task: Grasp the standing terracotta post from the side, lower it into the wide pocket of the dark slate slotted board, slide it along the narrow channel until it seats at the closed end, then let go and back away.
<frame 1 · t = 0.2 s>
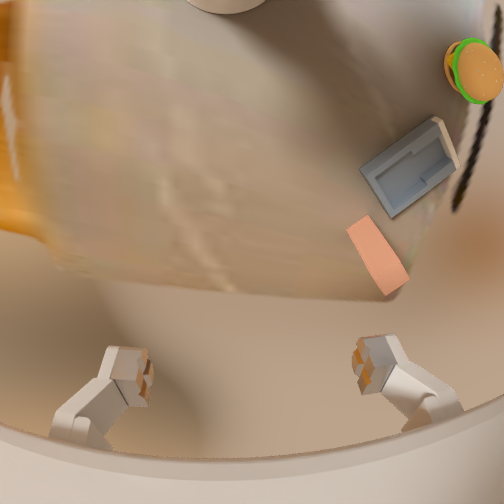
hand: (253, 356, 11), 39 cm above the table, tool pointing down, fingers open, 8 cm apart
hamburger: (461, 67, 37), on the table
slot board: (409, 163, 48), on the table
post: (362, 230, 56), on the table
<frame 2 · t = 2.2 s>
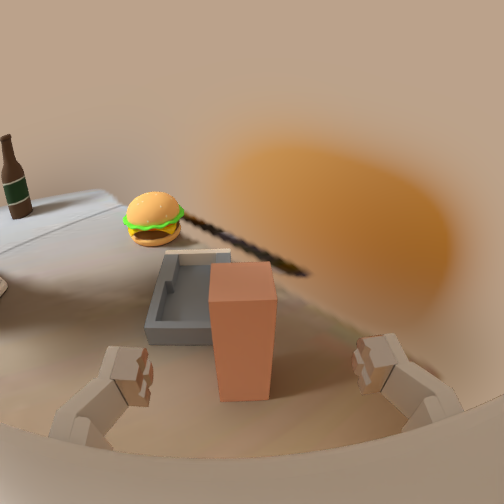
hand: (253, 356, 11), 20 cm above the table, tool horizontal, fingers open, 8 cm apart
beer bottle: (22, 214, 72), on the table
hamburger: (156, 236, 60), on the table
slot board: (195, 299, 44), on the table
post: (243, 382, 32), on the table
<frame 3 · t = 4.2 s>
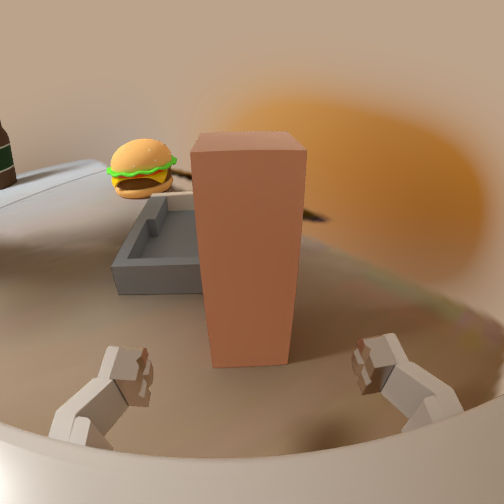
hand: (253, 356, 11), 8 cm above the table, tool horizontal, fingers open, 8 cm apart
beer bottle: (5, 186, 63), on the table
hamburger: (144, 190, 51), on the table
slot board: (184, 244, 34), on the table
post: (248, 339, 22), on the table
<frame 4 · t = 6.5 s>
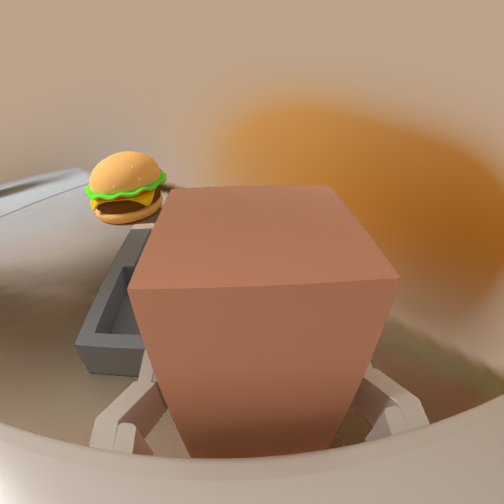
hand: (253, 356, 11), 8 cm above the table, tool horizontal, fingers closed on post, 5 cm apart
hamburger: (129, 212, 43), on the table
slot board: (171, 296, 27), on the table
post: (254, 453, 15), on the table, touching gripper
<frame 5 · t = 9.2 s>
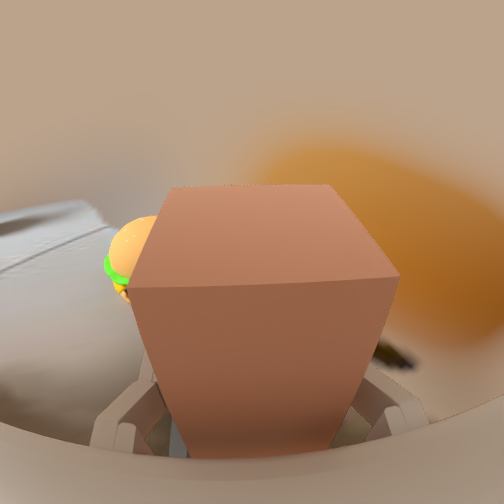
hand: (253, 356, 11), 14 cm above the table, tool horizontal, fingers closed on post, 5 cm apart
hamburger: (159, 287, 37), on the table
slot board: (244, 436, 21), on the table
post: (254, 453, 15), point 6 cm above the table, touching gripper
when the fingers open (10 cm above the table, at t = 12.0 s): post stays where it is, resting on slot board.
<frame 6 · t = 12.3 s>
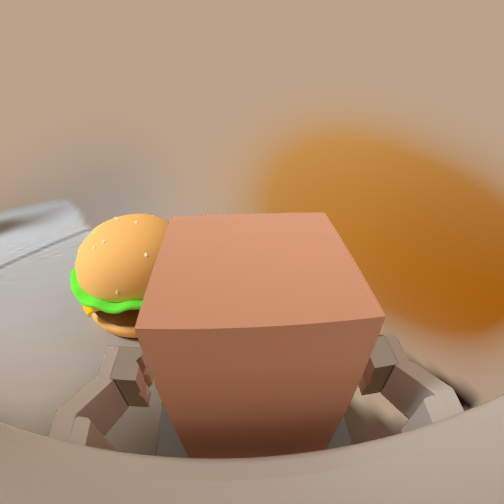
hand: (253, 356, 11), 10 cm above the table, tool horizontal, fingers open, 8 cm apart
hamburger: (143, 306, 28), on the table
post: (252, 459, 15), point 1 cm above the table, touching slot board
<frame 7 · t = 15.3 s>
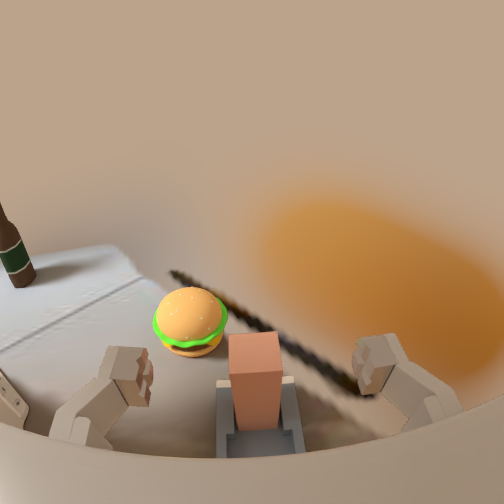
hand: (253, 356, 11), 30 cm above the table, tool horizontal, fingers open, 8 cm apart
beer bottle: (25, 280, 63), on the table
hamburger: (194, 336, 51), on the table
slot board: (259, 443, 34), on the table
post: (256, 413, 37), point 1 cm above the table, touching slot board
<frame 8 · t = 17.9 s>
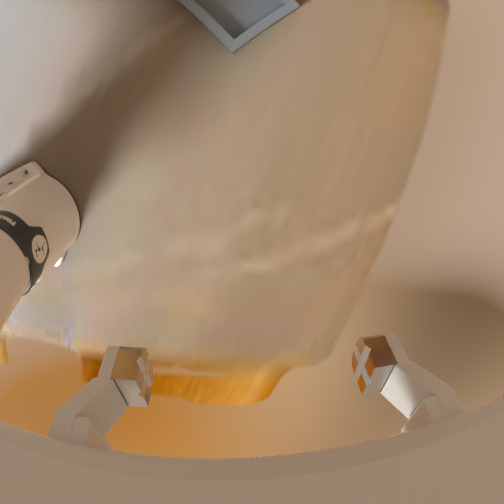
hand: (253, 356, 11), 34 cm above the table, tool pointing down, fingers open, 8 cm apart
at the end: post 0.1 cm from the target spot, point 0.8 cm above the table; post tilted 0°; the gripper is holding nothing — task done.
